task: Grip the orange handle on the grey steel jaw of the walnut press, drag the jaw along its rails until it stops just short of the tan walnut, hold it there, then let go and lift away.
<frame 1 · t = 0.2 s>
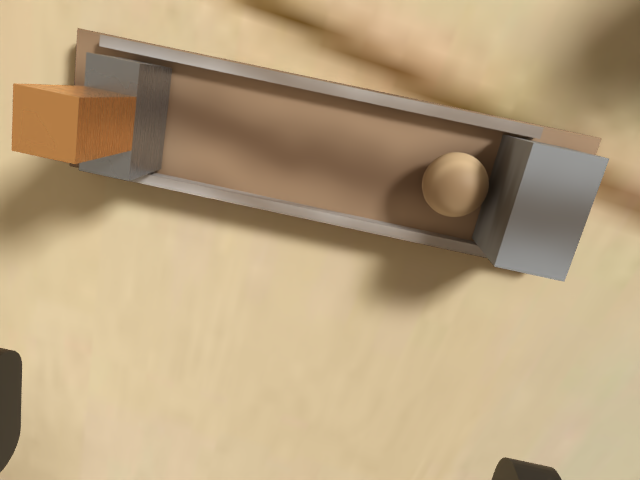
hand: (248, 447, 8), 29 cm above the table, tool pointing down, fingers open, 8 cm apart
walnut: (454, 184, 31), point 4 cm above the table, touching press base
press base: (324, 149, 35), on the table
sliding jaw: (103, 119, 28), point 8 cm above the table, slide at 0.0 cm
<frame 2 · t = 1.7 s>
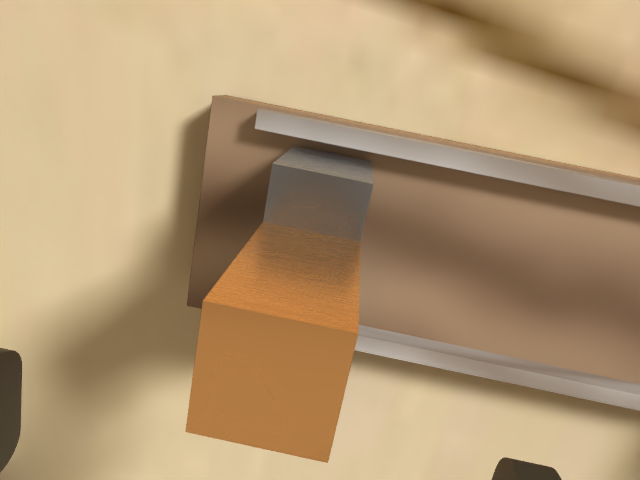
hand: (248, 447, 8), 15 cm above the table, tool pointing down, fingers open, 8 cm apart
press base: (587, 274, 22), on the table
sliding jaw: (300, 283, 15), point 8 cm above the table, slide at 0.0 cm
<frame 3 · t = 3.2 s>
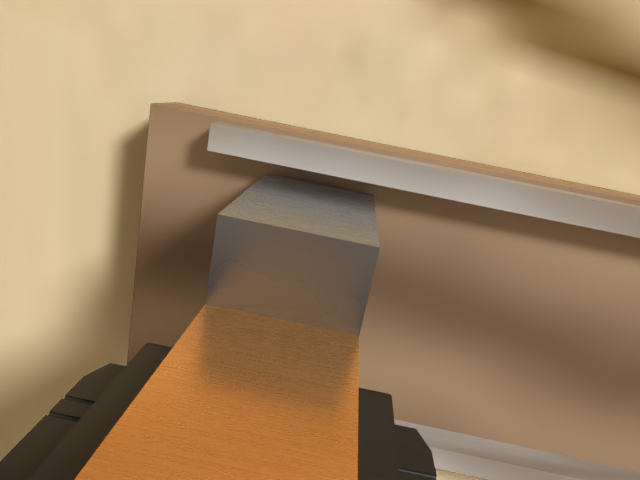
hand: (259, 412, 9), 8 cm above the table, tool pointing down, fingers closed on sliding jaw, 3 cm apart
sliding jaw: (264, 401, 10), point 8 cm above the table, slide at 0.0 cm, touching gripper
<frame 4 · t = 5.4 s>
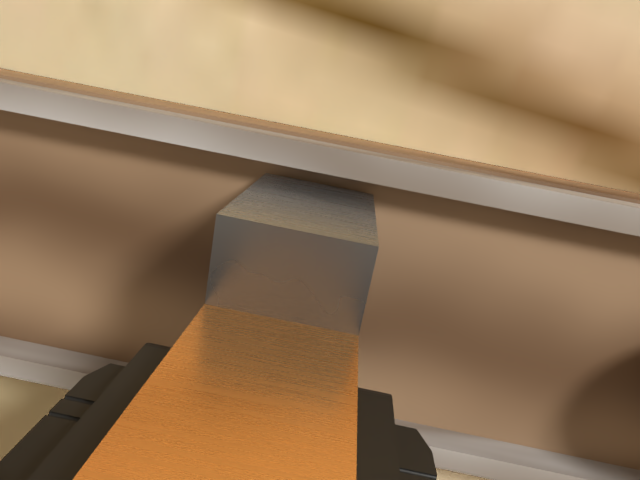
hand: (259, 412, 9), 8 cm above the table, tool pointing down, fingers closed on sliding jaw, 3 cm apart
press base: (421, 290, 17), on the table
sliding jaw: (264, 401, 10), point 8 cm above the table, slide at 8.1 cm, touching gripper
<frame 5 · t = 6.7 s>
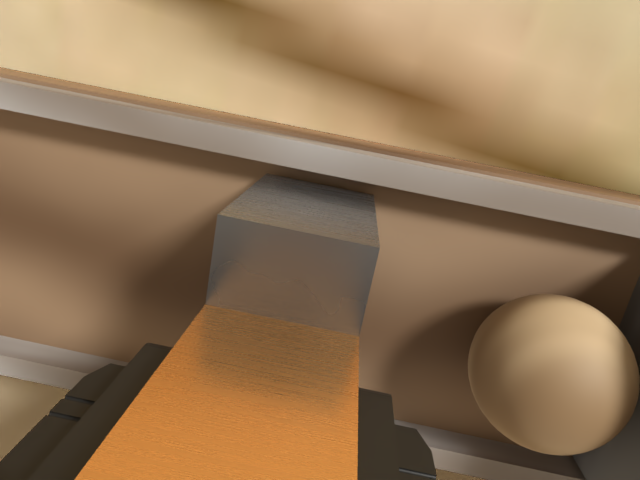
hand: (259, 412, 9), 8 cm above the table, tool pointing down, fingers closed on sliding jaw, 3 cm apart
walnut: (548, 371, 13), point 4 cm above the table, touching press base
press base: (257, 257, 17), on the table
sliding jaw: (264, 402, 10), point 8 cm above the table, slide at 13.7 cm, touching gripper
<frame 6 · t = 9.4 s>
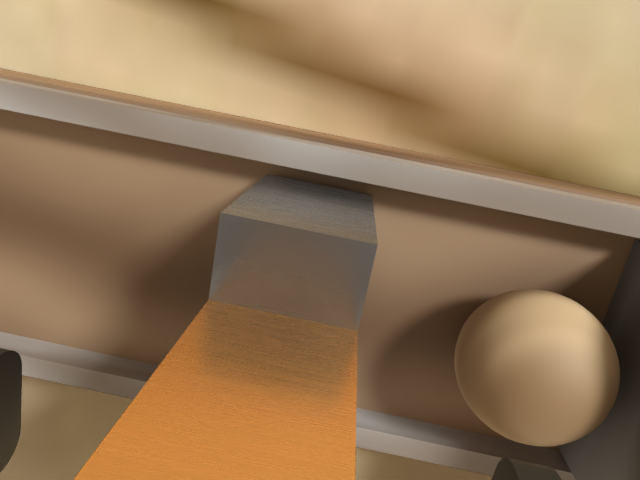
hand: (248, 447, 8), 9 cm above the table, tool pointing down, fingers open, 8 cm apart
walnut: (532, 364, 13), point 4 cm above the table, touching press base
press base: (250, 254, 17), on the table
sliding jaw: (266, 394, 10), point 8 cm above the table, slide at 14.0 cm
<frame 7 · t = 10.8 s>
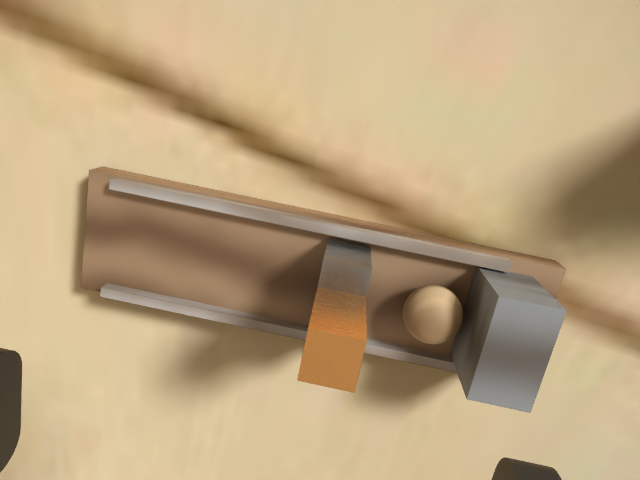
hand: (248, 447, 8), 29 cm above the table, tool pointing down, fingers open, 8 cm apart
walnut: (432, 314, 35), point 4 cm above the table, touching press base
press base: (315, 269, 39), on the table
sliding jaw: (336, 316, 31), point 8 cm above the table, slide at 14.0 cm
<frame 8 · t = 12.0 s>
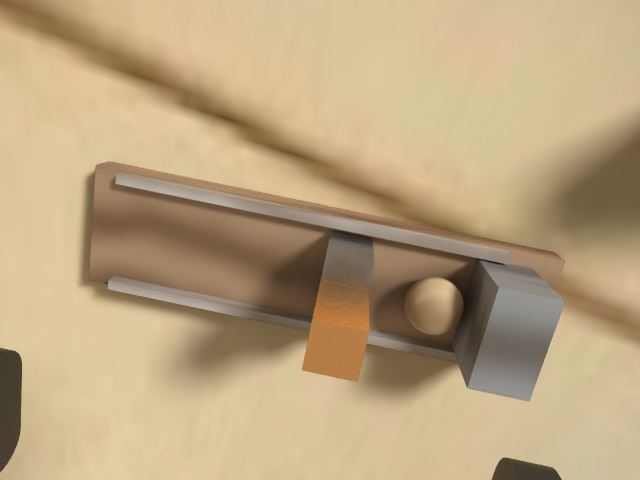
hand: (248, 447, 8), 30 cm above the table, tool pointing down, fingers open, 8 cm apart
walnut: (433, 305, 35), point 4 cm above the table, touching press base
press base: (318, 262, 39), on the table
sliding jaw: (339, 308, 32), point 8 cm above the table, slide at 14.0 cm
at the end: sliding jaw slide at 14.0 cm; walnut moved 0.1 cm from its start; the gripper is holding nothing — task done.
